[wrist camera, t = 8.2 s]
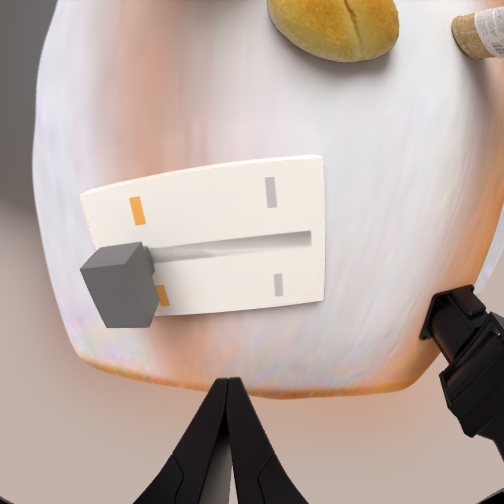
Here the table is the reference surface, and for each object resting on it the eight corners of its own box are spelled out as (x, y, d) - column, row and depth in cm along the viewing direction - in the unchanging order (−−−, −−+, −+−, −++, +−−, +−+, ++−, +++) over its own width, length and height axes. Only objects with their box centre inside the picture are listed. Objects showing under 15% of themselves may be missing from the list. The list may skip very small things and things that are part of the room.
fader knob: (166, 284, 19) (149, 327, 15) (129, 287, 20) (106, 327, 15) (151, 228, 17) (124, 264, 13) (111, 235, 18) (79, 269, 13)
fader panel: (319, 289, 22) (323, 300, 21) (128, 307, 23) (122, 317, 21) (317, 154, 17) (323, 157, 16) (89, 190, 18) (79, 195, 16)
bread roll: (252, -19, 11) (254, -46, 8) (365, -23, 11) (386, -43, 7) (286, 73, 15) (297, 60, 11) (399, 63, 14) (428, 55, 11)
